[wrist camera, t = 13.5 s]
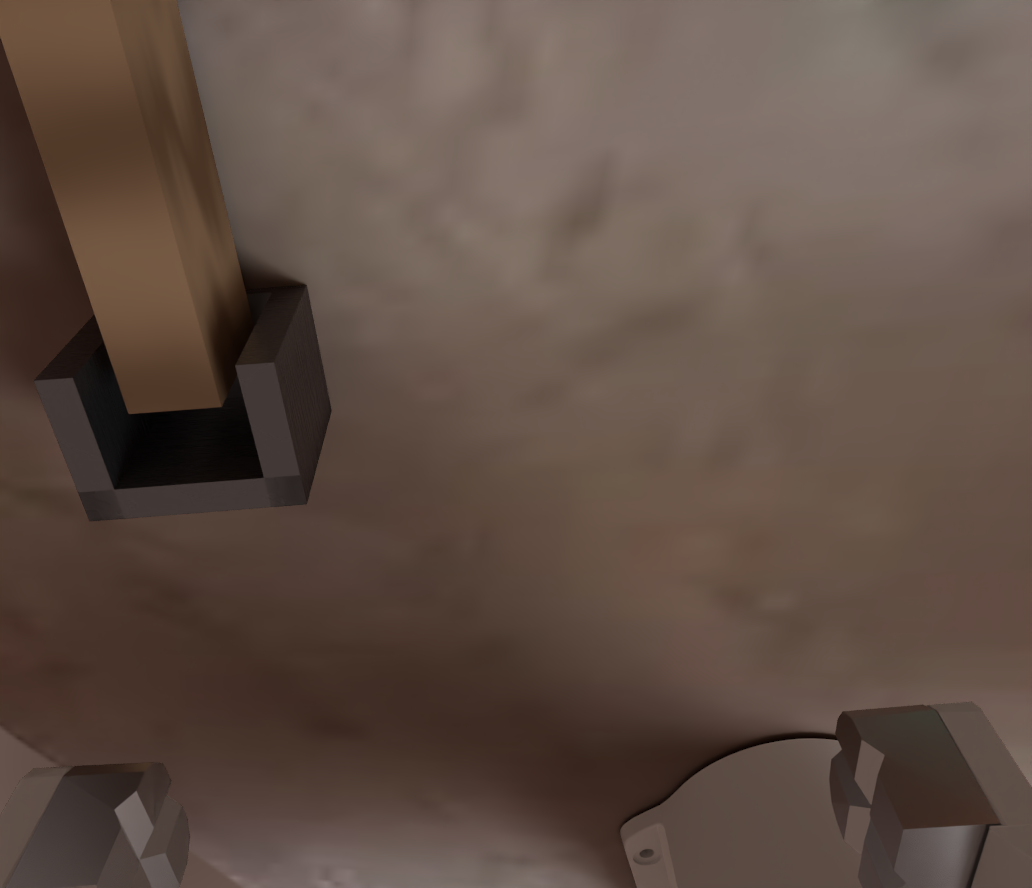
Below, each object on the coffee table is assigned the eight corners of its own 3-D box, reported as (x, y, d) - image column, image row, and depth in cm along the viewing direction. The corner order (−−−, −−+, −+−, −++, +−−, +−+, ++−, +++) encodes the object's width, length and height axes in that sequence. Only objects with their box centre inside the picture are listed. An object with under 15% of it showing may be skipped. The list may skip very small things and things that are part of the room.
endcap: (331, 410, 35) (306, 504, 30) (148, 424, 35) (89, 521, 29) (306, 285, 32) (274, 362, 27) (107, 300, 32) (33, 380, 27)
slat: (256, 336, 33) (221, 406, 28) (176, 342, 33) (128, 413, 28) (132, -186, 24) (53, -209, 20) (24, -179, 24) (-80, -200, 20)
